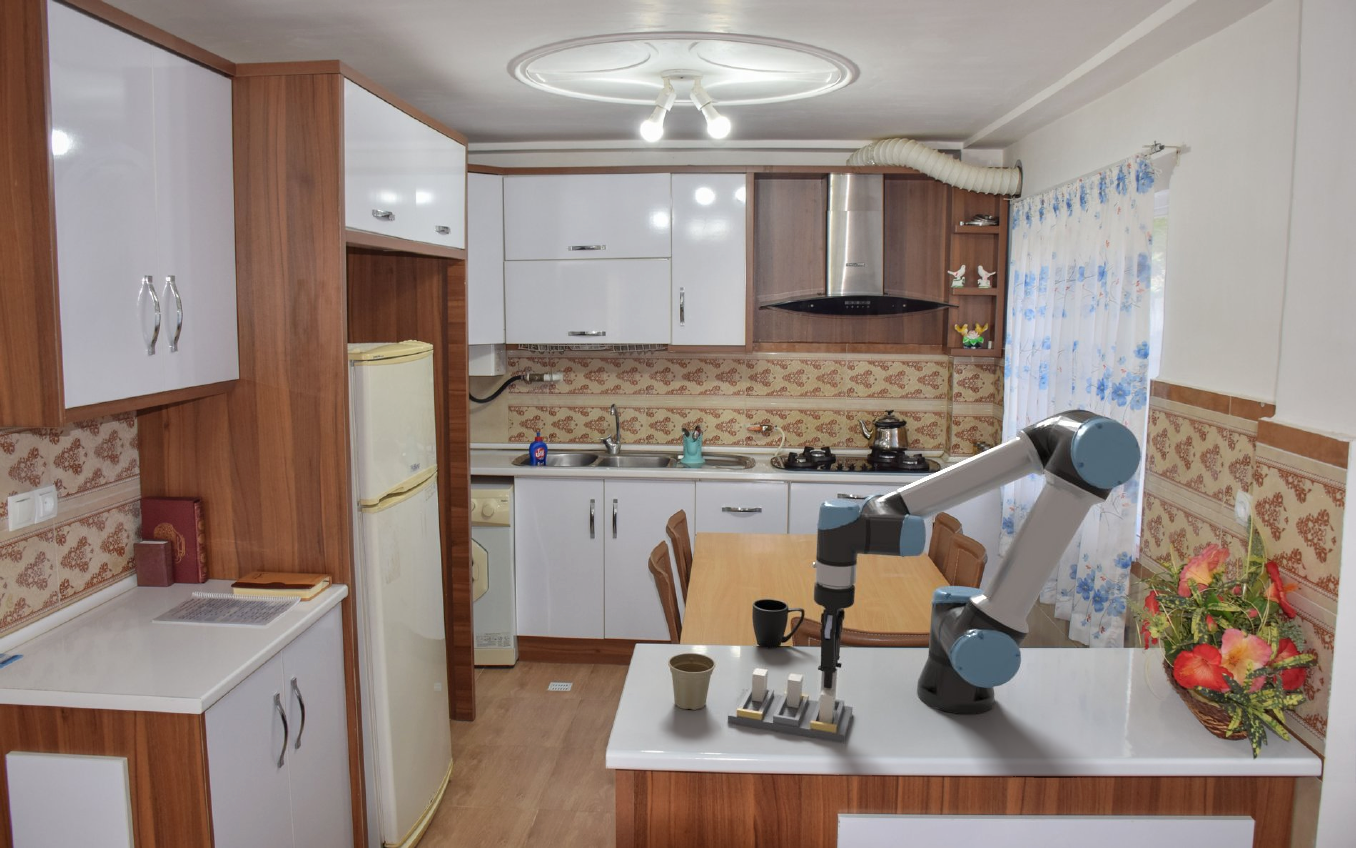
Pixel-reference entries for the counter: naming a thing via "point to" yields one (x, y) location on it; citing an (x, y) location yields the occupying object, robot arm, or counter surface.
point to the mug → (772, 622)
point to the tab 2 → (794, 690)
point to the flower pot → (691, 679)
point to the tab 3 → (827, 705)
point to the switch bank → (790, 716)
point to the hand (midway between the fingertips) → (827, 700)
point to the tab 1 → (759, 685)
